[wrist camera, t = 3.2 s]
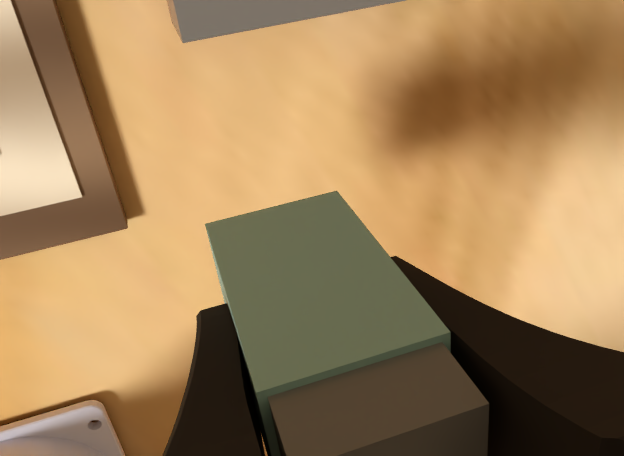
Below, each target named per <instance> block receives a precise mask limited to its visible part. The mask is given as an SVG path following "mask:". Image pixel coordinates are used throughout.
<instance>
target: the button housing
mask: <svg viewBox="0 0 624 456" xmlns="http://www.w3.org/2000/svg"><path fill="white" fill-rule="evenodd" d="M400 1H405V0H167V2H168V6H169V11H170V15H171V19H172V23H173V25H174V27H175V29H176V31H177V33H178V35H179V37H180V39H181V40H182V42H183V43H186V42H191V41H196V40H202V39H207V38H212V37H217V36H222V35H228V34H233V33H238V32H243V31H249V30H254V29H259V28H264V27H269V26H275V25H280V24H285V23H290V22H296V21H301V20H306V19H311V18H316V17H322V16H327V15H332V14H337V13H343V12H348V11H353V10H358V9H363V8H369V7H374V6H379V5H384V4H390V3H395V2H400Z"/></svg>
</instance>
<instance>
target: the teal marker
mask: <svg viewBox="0 0 624 456" xmlns="http://www.w3.org/2000/svg"><path fill="white" fill-rule="evenodd" d="M205 226H206V230H207V234H208V238H209V242H210V246H211V250H212V254H213V258H214V262H215V266H216V270H217V274H218V278H219V282H220V286H221V290H222V294H223V298H224V302H225V304H226V303H227V304H228V307H229V310H230V313H231V316H232V319H233V322H234V325H235V329H236V332H237V336H238V340H239V344H240V348H241V353H242V357H243V361H244V365H245V369H246V373H247V377H248V381H249V385H250V389H251V393H252V398H253V402H254V406H255V410H256V414H257V418H258V422H259V426H260V430H261V434H262V437H263V441H264V444H265V448H266V451H267V454H268V456H487V450H488V424H489V402H488V401H487V400H486V399H485V397H484V396H483V395H482V393H481V392H480V391H479V389H478V388H477V387H476V385H475V384H474V383H473V382H472V380H471V379H470V378H469V376H468V375H467V374H466V372H465V371H464V370H463V369H462V367H461V366H460V365H459V363H458V362H457V361H456V359H455V358H454V357H453V355H452V354H451V333H450V331H449V330H448V328H447V327H446V326H445V325H444V323H443V322H442V321H441V320H440V318H439V317H438V316H437V315H436V313H435V312H434V311H433V310H432V308H431V307H430V306H429V305H428V303H427V302H426V301H425V300H424V298H423V297H422V296H421V295H420V294H419V292H418V291H417V290H416V289H415V287H414V286H413V285H412V284H411V282H410V281H409V280H408V279H407V277H406V276H405V275H404V274H403V272H402V271H401V270H400V269H399V267H398V266H397V265H396V264H395V262H394V261H393V260H392V259H391V257H390V256H389V255H388V254H387V252H386V251H385V250H384V249H383V248H382V246H381V245H380V244H379V243H378V241H377V240H376V239H375V238H374V236H373V235H372V234H371V233H370V231H369V230H368V229H367V228H366V226H365V225H364V224H363V223H362V221H361V220H360V219H359V218H358V216H357V215H356V214H355V213H354V211H353V210H352V209H351V208H350V206H349V205H348V204H347V203H346V202H345V200H344V199H343V198H342V197H341V195H340V194H339V193H338V192H337V191H334V192H330V193H326V194H322V195H318V196H314V197H310V198H306V199H302V200H298V201H294V202H290V203H286V204H282V205H278V206H274V207H270V208H266V209H263V210H259V211H255V212H251V213H247V214H243V215H239V216H235V217H231V218H227V219H223V220H219V221H215V222H211V223H207V224H205Z"/></svg>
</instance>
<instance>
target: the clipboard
mask: <svg viewBox="0 0 624 456" xmlns="http://www.w3.org/2000/svg"><path fill="white" fill-rule="evenodd" d="M127 228H128V226H127V218H126V215H125V212H124V209H123V206H122V203H121V200H120V197H119V194H118V191H117V188H116V185H115V181H114V178H113V175H112V172H111V169H110V166H109V163H108V160H107V157H106V154H105V151H104V148H103V145H102V142H101V139H100V136H99V133H98V130H97V127H96V124H95V120H94V117H93V114H92V111H91V108H90V105H89V102H88V99H87V96H86V93H85V90H84V87H83V84H82V81H81V78H80V75H79V72H78V69H77V66H76V63H75V59H74V56H73V53H72V50H71V47H70V44H69V41H68V38H67V35H66V32H65V29H64V26H63V23H62V20H61V17H60V14H59V11H58V8H57V5H56V2H55V0H0V260H1V259H5V258H9V257H13V256H17V255H21V254H25V253H30V252H34V251H38V250H42V249H46V248H50V247H54V246H58V245H62V244H66V243H70V242H74V241H78V240H82V239H86V238H90V237H94V236H99V235H103V234H107V233H111V232H115V231H119V230H123V229H127Z"/></svg>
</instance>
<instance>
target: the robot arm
mask: <svg viewBox="0 0 624 456" xmlns="http://www.w3.org/2000/svg"><path fill="white" fill-rule="evenodd" d="M391 259H392V260H393V261H394V262H395V264H396V265H397V266H398V267H399V269H400V270H401V271H402V272H403V274H404V275H405V276H406V277H407V279H408V280H409V281H410V282H411V284H412V285H413V286H414V287H415V289H416V290H417V291H418V292H419V294H420V295H421V296H422V297H423V298H424V300H425V301H426V302H427V303H428V305H429V306H430V307H431V308H432V310H433V311H434V312H435V313H436V315H437V316H438V317H439V318H440V320H441V321H442V322H443V323H444V325H445V326H446V327H447V328H448V330H449V331H450V333H451V354H452V355H453V357H454V358H455V359H456V361H457V362H458V363H459V365H460V366H461V367H462V369H463V370H464V371H465V372H466V374H467V375H468V376H469V378H470V379H471V380H472V382H473V383H474V384H475V385H476V387H477V388H478V389H479V391H480V392H481V393H482V395H483V396H484V397H485V399H486V400H487V401H488V402H489V424H488V450H487V456H624V352H620V351H616V350H612V349H608V348H604V347H600V346H597V345H593V344H590V343H586V342H583V341H579V340H576V339H572V338H569V337H566V336H563V335H560V334H557V333H554V332H551V331H548V330H546V329H543V328H540V327H537V326H535V325H532V324H529V323H527V322H524V321H521V320H519V319H517V318H514V317H512V316H509V315H507V314H505V313H503V312H501V311H498V310H496V309H494V308H492V307H490V306H487V305H485V304H483V303H481V302H479V301H477V300H475V299H473V298H471V297H469V296H467V295H465V294H463V293H461V292H459V291H458V290H456V289H454V288H452V287H450V286H448V285H446V284H445V283H443V282H441V281H439V280H437V279H436V278H434V277H432V276H430V275H429V274H427V273H425V272H423V271H422V270H420V269H418V268H416V267H415V266H413V265H411V264H409V263H408V262H406V261H404V260H402V259H400V258H399V257H397V256H394V257H391ZM196 317H197V332H196V342H195V348H194V354H193V359H192V364H191V369H190V373H189V378H188V382H187V386H186V389H185V393H184V396H183V400H182V403H181V406H180V410H179V413H178V416H177V419H176V422H175V425H174V428H173V430H172V433H171V436H170V438H169V441H168V443H167V446H166V448H165V451H164V453H163V456H265V453H264V447H263V442H262V436H261V431H260V426H259V422H258V418H257V414H256V410H255V406H254V402H253V398H252V393H251V389H250V385H249V381H248V377H247V373H246V369H245V365H244V361H243V357H242V353H241V348H240V344H239V340H238V336H237V332H236V329H235V325H234V322H233V319H232V316H231V313H230V310H229V307H228V304H227V303H226V304H222V305H219V306H215V307H211V308H208V309H204V310H201V311H200V312H199V314H198V315H197V316H196ZM92 420H99V421H98V422H94V423H93V422H90V421H92ZM0 456H125V453H124V451H123V449H122V447H121V444H120V442H119V440H118V437H117V435H116V433H115V430H114V428H113V426H112V423H111V421H110V419H109V416H108V414H107V412H106V410H105V407H104V405H103V404H102V403H101V402H99V401H97V400H88V401H84V402H81V403H77V404H74V405H71V406H67V407H64V408H60V409H57V410H54V411H50V412H47V413H44V414H40V415H37V416H33V417H30V418H27V419H23V420H20V421H17V422H13V423H10V424H7V425H3V426H0Z"/></svg>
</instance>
